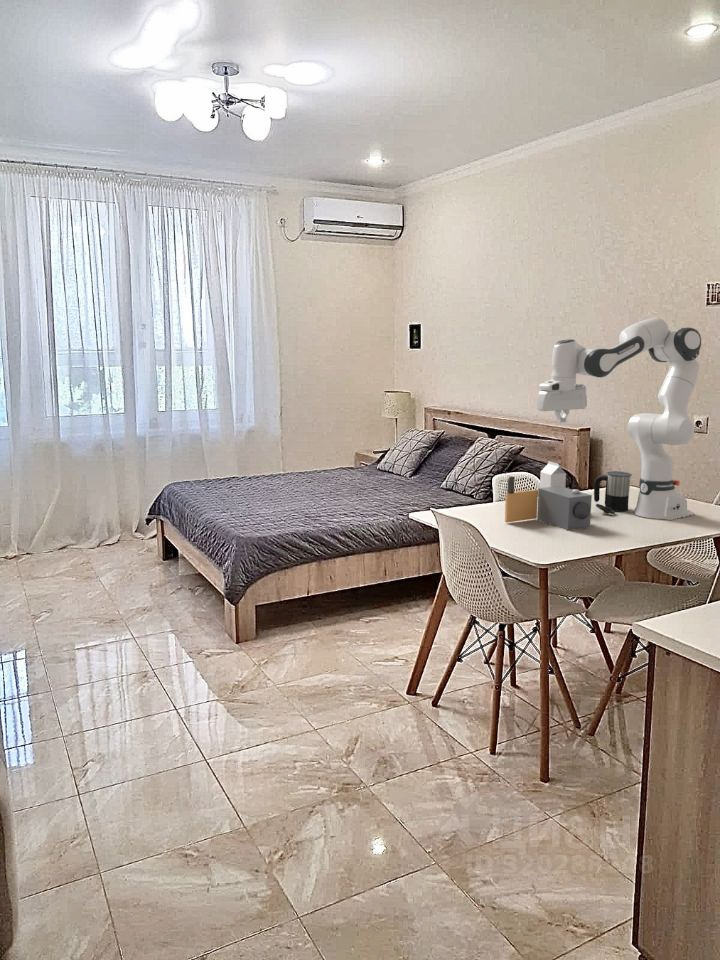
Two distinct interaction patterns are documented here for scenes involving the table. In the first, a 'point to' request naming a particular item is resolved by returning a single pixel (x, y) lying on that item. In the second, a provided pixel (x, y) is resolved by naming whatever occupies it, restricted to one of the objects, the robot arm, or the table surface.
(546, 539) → the table surface
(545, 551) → the table surface
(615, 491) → the milk frother
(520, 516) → the tan flat panel
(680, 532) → the table surface
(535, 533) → the table surface
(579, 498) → the camera body
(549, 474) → the milk carton
